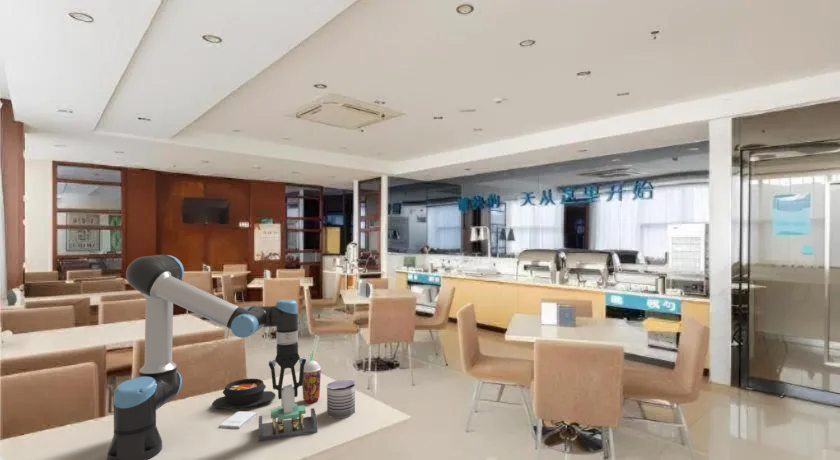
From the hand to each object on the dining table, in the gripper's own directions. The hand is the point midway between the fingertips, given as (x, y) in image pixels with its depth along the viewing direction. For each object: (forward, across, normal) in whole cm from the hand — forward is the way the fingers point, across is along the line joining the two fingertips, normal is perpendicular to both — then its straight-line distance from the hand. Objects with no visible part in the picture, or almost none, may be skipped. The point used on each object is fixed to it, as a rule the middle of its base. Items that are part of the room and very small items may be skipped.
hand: (288, 406), depth 158 cm
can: (+9, +21, +9) cm, 24 cm away
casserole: (+9, -16, +33) cm, 38 cm away
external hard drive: (+9, -18, +15) cm, 25 cm away
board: (+3, 0, 0) cm, 3 cm away
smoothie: (+9, +11, +26) cm, 30 cm away
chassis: (+9, 0, 0) cm, 9 cm away
